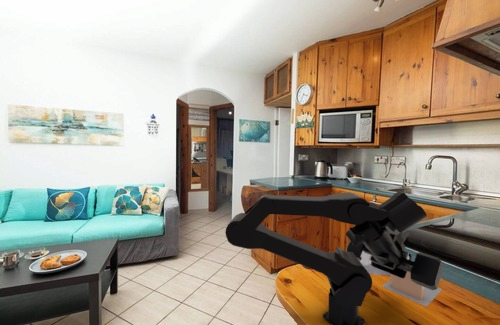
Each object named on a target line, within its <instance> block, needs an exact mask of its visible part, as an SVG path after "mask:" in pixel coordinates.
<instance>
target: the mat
mask: <svg viewBox="0 0 500 325" xmlns="http://www.w3.org/2000/svg"><path fill="white" fill-rule="evenodd" d="M381 287H383V288H384V289H387V290H389V291H391V292H393V293H396V294H397V295H400V296H402V297H404V298H406V299H408V300H411V301H413V302H415V303H418V304H420V305H422V306H424V307H428V306H429V305H430V303H432V302H433V300H435V298H436V297H437V296H439V294H440V293H441V292H442V291H443V289H442V288H440V287H438V288H437V289H436V290H431V289H428V288H426V287H425V298H423V299H422V300H419V299H417V298H415V297H413V296H410V295H408V294H406V293H404V292H401V291H399V290H397V289H395V288H392V287H391V279H390V280H388V281H386V282H385V284H382V286H381Z"/></svg>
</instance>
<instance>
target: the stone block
mask: <svg viewBox="0 0 500 325" xmlns="http://www.w3.org/2000/svg"><path fill="white" fill-rule="evenodd" d="M360 257H361V258H362V259H361V260H360V262H361V263H362V265H363V266H364V267H365V269H366V270H367V272H368V273H369V274H370V275H375V276H377V275H378V276H388V277H389V276H390V277H391V274H390V273H389V272H385V271H383V270H380V269H378V268H375V267H373V266H372V265H371V262H372V261H370V260H369V257H370V254H367V253H365V252H364V251H363V252H362V254H361V256H360Z"/></svg>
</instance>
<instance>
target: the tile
mask: <svg viewBox="0 0 500 325" xmlns="http://www.w3.org/2000/svg"><path fill="white" fill-rule="evenodd" d="M390 280H391V287H392V288H395V289H397V290H399V291H401V292H404V293H406V294H408V295H410V296H413V297H415V298H417V299H419V300H422V299H423V298H425V287H423V286H421V285H418V284H416V283H415V282H413V281H412V280H411V273H409V272H407V274H406V277H405V278H400V277H397V276H395V275H392V274H391V276H390Z"/></svg>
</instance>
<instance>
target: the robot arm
mask: <svg viewBox="0 0 500 325" xmlns="http://www.w3.org/2000/svg"><path fill="white" fill-rule="evenodd" d="M270 215H281V216H282V215H284V216H304V217H305V216H306V217H324V218H328V219H331V220H333V221H336V222H340V223H345V224H349V225H353V227H349V229H348V230H346V233H345V236H346V237H347V238H348V240H349V241H348V244H347V246H346V248H345V250H344V249H343V248H341V247H339V246H336V247H335V250H334V251H333V252H332V251H331V252H330V251H329V252H328V251H325V250H322V249H320V248H317V247H314V246H311V245H309V244H307V243H304V242H302V241H300V240H297V239H294V238H291V237H289V236H286V235H284V234H282V233H280V232H276V231H274V230H271V229H269V228H268V227H267V226H265V225H264V224H263V223H262V222H264V221H265V219H267V217H269V216H270ZM427 218H428V215H427V212H426V211H425V209H424V208H423V207H422V206H421V205H419V204H418V203H416V202H415V200H413V199H412V198H411V197H409V196H408V195H407V194H406V193H405V192H402V191H400V190H399V191H397V192H395V193H393V195H392V196H391V197H390V198H388V199H386V200H385V201H384V202H382V203H381V204H379V205H378V204H376V203H374V202H372V201H371V202H369V201H367V200H366V199H365V198H363V197H362V196H359V195H358V194H356V193H355V192H350V191H349V192H347V191H345V192H339V193H334V194H333V193H332V194H329V195H325V196H305V195H304V196H301V195H299V196H298V195H275V194H274V195H272V194H269V193H266V194H263V195H261V196H260V197H259V199H257V201H256V202H255V203H253V204H252V205H251V206H250V207H249V208H248V209H246V210H245V212H240V213H238V214H236V215H235V216H233V218H232V219H231V220H230V222H229V223H228V224H227V226H226V228H225V231H224V233H225V238H226V239H227V240H226V241H227V242H228V243H229V244H230V245H232V246H233V247H238V248H242V249H247V250H264V251H266V252H269V253H272V254H274V255H276V256H278V257H281V258H283V259H286V260H288V261H291V262H293V263H295V264H298V265H301V266H303V267H306V268H308V269H311V270H312V271H315V272H318V273H321V274H322V275H324V276H325V277H326V278H327V281H328V283H329V286H330V288H329V293H328V295H327V296H328V311H326V312H324V313H323V314H322V318H323V319H324V320H325V321H326V322H328V323H329V324H331V325H364V324H365V323H366V319H365V318H364V317H361V316H360V315H359V307H362V305H363V302H364V300H365V297H366V295H367V293H369V292H370V290H371V289H372V286H373V278H372V277H371V274H369V273H368V272H367V270H366V269H365V267H364V266H363V265H362V263H361V262H360V260H361V259H362V258H361V257H360V256H361V254H362V252H363V251H364V252H365V253H367V254H370V257H369V260H370V261H372V262H371V265H372V266H373V267H375V268H378V269H380V270H383V271H385V272H389V273H390V274H392V275H395V276H397V277H400V278H405V277H406V274H407V272H409V273H411V280H412V281H413V282H415V283H416V284H418V285H421V286H423V287H426V288H428V289H431V290H436V289H437V288H439V287H438V286H439V285H440V284H439V283H440V280H441V277H442V273H443V269H444V264H443V261H442V260H441V258H440V257H438V256H437V257H436V256H434V255H430V254H427V253H423V252H420V251H418V252H417V253H416V256H415V258H414V261H413V260H412V254H410V253H409V252H408V251H406V250H405V249H406V245H405V244H404V243H405V241H406V240H407V238H408V237H409V236H410V233H409V229H411V228H413V227H414V226H416V225H417V224H419V223H421V222H423V220H425V219H427Z"/></svg>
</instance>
